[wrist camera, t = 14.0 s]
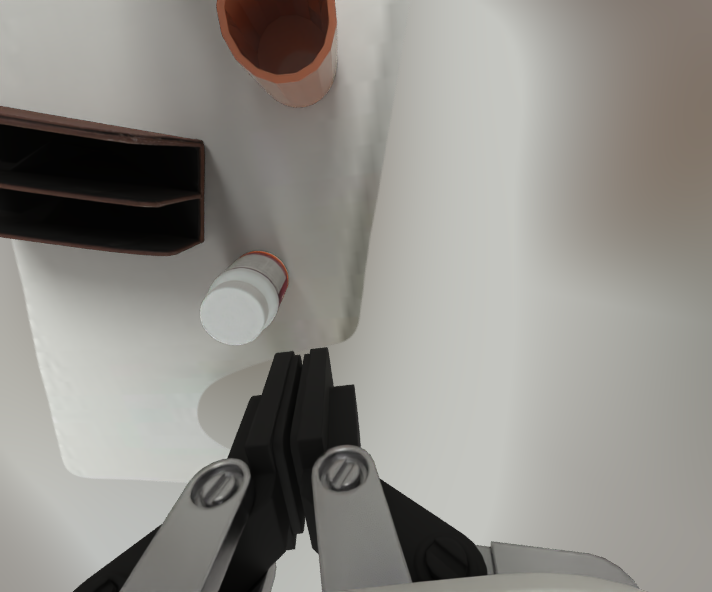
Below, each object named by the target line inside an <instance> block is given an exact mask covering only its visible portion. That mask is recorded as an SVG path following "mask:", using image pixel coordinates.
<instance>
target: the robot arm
mask: <svg viewBox="0 0 712 592" xmlns="http://www.w3.org/2000/svg"><path fill="white" fill-rule="evenodd" d="M305 518H306V522H307V527H308V531H309V535H310V540H311V544H312V548H313V549H314V550H315V551H316V552H317V553H318V554H319V563H320V573H321V584H322V592H647V591H644V590H641V589H639V588H638V586H637V584H636V583H635V581H634V580H633V579H632V578H631V577H630V576H629V575H627V574H626V573H625V572H624V571H623V570H622V569H621V568H620V567H618V566H617V565H615V564H613V563H612V562H610V561H608V560H607V559H605V558H603V557H599V556H596V555H592V554H589V553H580V552H572V551H565V550H557V549H549V548H540V547H532V546H523V545H516V544H508V543H500V542H491V547H487V546H479V545H475V544H474V543H473V542H472V541H471V540H470V539H468V538H467V537H466V536H465V535H464V534H462V533H461V532H459V531H458V530H456V529H455V528H453V527H452V526H450V525H449V524H447V523H446V522H444V521H443V520H441V519H440V518H438V517H437V516H435V515H434V514H432V513H431V512H429V511H428V510H426V509H425V508H423V507H422V506H420V505H418V504H417V503H416V502H414V501H413V500H411V499H410V498H408V497H406V496H405V495H404V494H402V493H401V492H399V491H398V490H396V489H395V488H393V487H392V486H390V485H389V484H387V483H386V482H384V481H383V480H381V479H380V478H379V476H378V473H377V469H376V467H375V463H374V461H373V459H372V457H371V455H370V454H369V453H368V452H367V451H365V450H364V449H362V448H361V444H360V433H359V423H358V412H357V405H356V396H355V387H354V385H345V386H336V387H334V386H333V379H332V372H331V365H330V358H329V352H328V348H327V347H325V348H316V349H311V350H310V354H305V355H304V360H303V365H302V360H301V356H300V355H295V354H294V352H293V351H290V352H281V353H276V354H275V356H274V359H273V362H272V366H271V368H270V371H269V375H268V377H267V380H266V384H265V386H264V389H263V393H262V395H258V396H252V397H251V399H250V401H249V403H248V406H247V408H246V411H245V414H244V416H243V419H242V421H241V424H240V427H239V429H238V432H237V434H236V437H235V440H234V443H233V445H232V448H231V450H230V453H229V456H228V458H227V459H222V460H219V461H216V462H213V463H211V464H210V465H208V466H206V467H204V468H203V469H202V470H200V471H199V472H198V473H197V474H196V475H194V477H193V478H192V479H191V480H190V482H189V483H188V484H187V486H186V488H185V489H184V491H183V492H182V494H181V496H180V497H179V499H178V500H177V502H176V503H175V505H174V506H173V508H172V510H171V511H170V513H169V514H168V516H167V517H166V519H165V521H164V522H163V524H161V525H160V526H159V527H157V528H156V529H155V530H153V531H152V532H150V533H149V534H148V535H146V536H145V537H144V538H142V539H141V540H140V541H138V542H137V543H136V544H134V545H133V546H132V547H130V548H129V549H128V550H126V551H125V552H124V553H122V554H121V555H119V556H118V557H117V558H115V559H114V560H113V561H111V562H110V563H109V564H107V565H106V566H105V567H103V568H102V569H101V570H99V571H98V572H97V573H95V574H94V575H93V576H91V577H90V578H88V579H87V580H86V581H85V582H83V583H82V584H81V585H80V586H79V587H78V588H76V589H75V590H74V591H73V592H271V589H272V586H273V582H274V578H275V573H276V561H277V560H278V559H279V558H280V557H281V556H282V555H283V554H284V553H285V552H286V550H292V549H295V545H296V535H297V534H300V533H303V531H304V524H305Z"/></svg>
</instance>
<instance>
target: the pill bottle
mask: <svg viewBox="0 0 712 592" xmlns="http://www.w3.org/2000/svg"><path fill="white" fill-rule="evenodd" d="M288 281H289V277H288V272H287V269H286V267H285V265H284V264H283V262H282V261H281V260H280V259H279V258H278V257H276V256H275V255H273V254H271V253H269V252H265V251H251V252H248V253H246V254H244V255H242V256H241V257H240V258H239V259H237V260H236V261H235V262H234V263H233V264H232V265H231V266H230V267H228V268H227V269H226V270H225V271H224V272H223V273H222V274H221V275H219V276H218V277H217V278H216V279H215V281H214V282H213V283H212V285H211V287H210V289H209V292H208V295H207V296H206V297H205V299H204V300H203V302H202V304H201V307H200V319H201V323H202V325H203V327H204V329H205V330H206V332H207V333H208V334H209V335H210V336H211V337H212V338H214V339H215V340H217V341H219V342H221V343H224V344H228V345H243V344H246V343H249V342H251V341H253V340H254V339H255V338H257V337H258V336H259V334H260V333H261V332H262V330H263V329H264V328H266V327H267V326H268V325H269V324H270V323H271V322H272V321H273V319H274V318H275V316H276V314H277V312H278V308H279V306H280V304H281V302H282V299H283V297H284V294H285V292H286V290H287V287H288Z"/></svg>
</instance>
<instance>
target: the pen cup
mask: <svg viewBox="0 0 712 592" xmlns="http://www.w3.org/2000/svg"><path fill="white" fill-rule="evenodd" d="M216 6H217V7H216V8H217V13H218V18H219V23H220V28H221V33H222V36H223V38H224V40H225V42H226V43H227V45H228V47H229V49H230V50H231V52H232V54H233V56H234V58H235V59H236V60H237V61H238V62H239V63H240V65H241V66H242V67H243V68H244V69H245V70H246V71H247V72H248V73H249V74H250V75H251V76H252V77H253V78H254V80H255V81H256V82H257V83H258V84H259V85H260V86H261V87H262V88H263V89H264V90H265V91H266V92H267V93H268V94H269V95H270V96H271V97H272V98H274V99H275V100H276V101H278V102H280V103H281V104H284V105H286V106H290V107H296V108H299V107H307V106H310V105H312V104H314V103H316V102H318V101H319V100H321V99H322V98H323V97H324V96H325V95H326V93H327V92H328V91H329V89H330V87H331V85H332V83H333V80H334V77H335V73H336V67H337V18H336V8H335V0H217V4H216Z"/></svg>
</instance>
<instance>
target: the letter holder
mask: <svg viewBox="0 0 712 592" xmlns="http://www.w3.org/2000/svg"><path fill="white" fill-rule="evenodd" d="M204 174H205V151H204V144H203V141H202V140H198V139H190V138H183V137H177V136H171V135H166V134H159V133H154V132H148V131H142V130H137V129H130V128H125V127H119V126H113V125H107V124H102V123H96V122H90V121H84V120H78V119H72V118H66V117H61V116H55V115H49V114H43V113H38V112H32V111H26V110H20V109H14V108H9V107H3V106H0V237H3V238H10V239H19V240H26V241H33V242H40V243H48V244H55V245H63V246H70V247H77V248H84V249H94V250H101V251H109V252H118V253H128V254H138V255H153V256H171V255H176V254H178V253H180V252H182V251H185V250H187V249H189V248H191V247H193V246H195V245H198V244H200V243H202V242H204Z"/></svg>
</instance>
